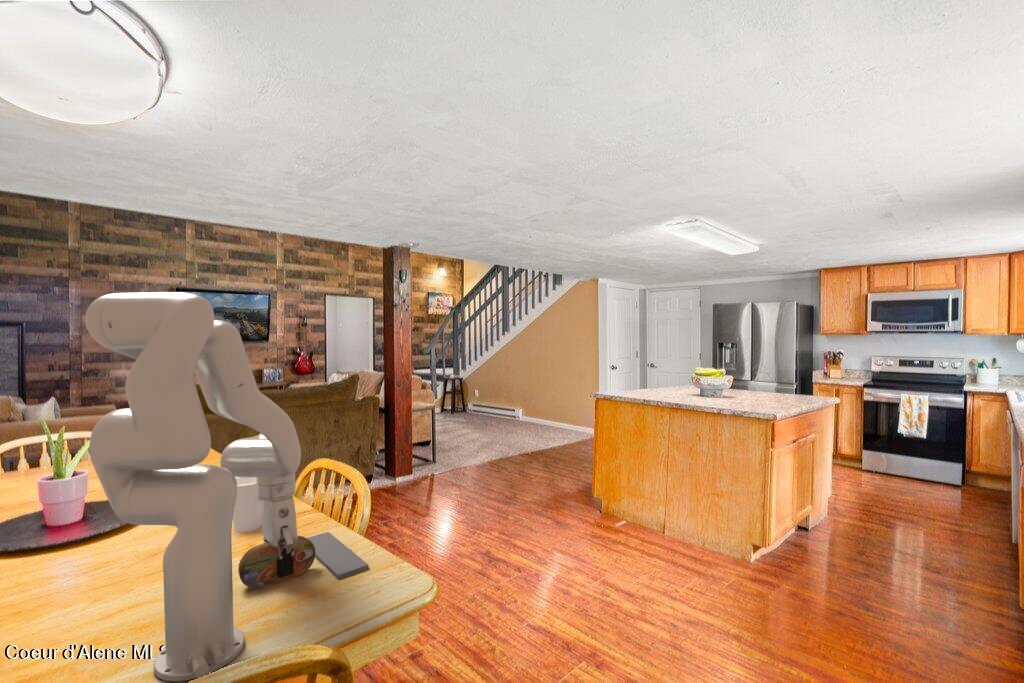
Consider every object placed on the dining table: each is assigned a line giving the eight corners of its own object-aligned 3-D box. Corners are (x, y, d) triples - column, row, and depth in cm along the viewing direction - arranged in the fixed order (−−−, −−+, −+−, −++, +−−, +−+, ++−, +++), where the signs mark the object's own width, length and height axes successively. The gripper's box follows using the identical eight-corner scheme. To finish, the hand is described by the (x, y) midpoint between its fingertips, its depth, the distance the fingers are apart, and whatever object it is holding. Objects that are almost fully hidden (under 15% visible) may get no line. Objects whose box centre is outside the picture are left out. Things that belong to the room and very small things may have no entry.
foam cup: (274, 524, 136) (273, 477, 135) (243, 537, 127) (242, 487, 127) (251, 518, 140) (250, 473, 139) (219, 531, 131) (218, 483, 131)
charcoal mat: (368, 569, 110) (368, 564, 110) (337, 579, 105) (337, 575, 105) (328, 535, 128) (328, 531, 128) (300, 543, 123) (300, 539, 123)
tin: (240, 594, 100) (239, 553, 100) (237, 588, 102) (236, 548, 102) (316, 571, 109) (315, 533, 109) (312, 566, 112) (311, 529, 111)
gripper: (308, 494, 101) (310, 576, 102) (282, 475, 114) (284, 548, 115) (269, 503, 96) (271, 589, 97) (246, 482, 109) (249, 558, 110)
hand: (278, 566), depth 106 cm, fingers open, 9 cm apart
